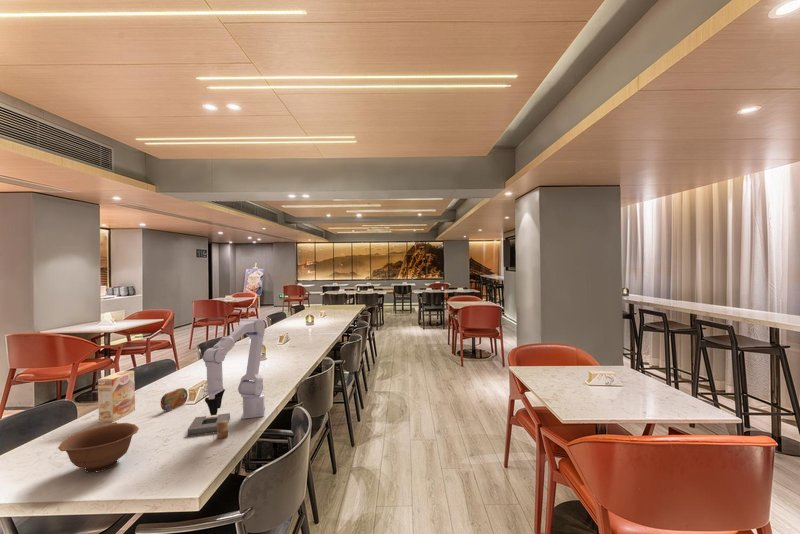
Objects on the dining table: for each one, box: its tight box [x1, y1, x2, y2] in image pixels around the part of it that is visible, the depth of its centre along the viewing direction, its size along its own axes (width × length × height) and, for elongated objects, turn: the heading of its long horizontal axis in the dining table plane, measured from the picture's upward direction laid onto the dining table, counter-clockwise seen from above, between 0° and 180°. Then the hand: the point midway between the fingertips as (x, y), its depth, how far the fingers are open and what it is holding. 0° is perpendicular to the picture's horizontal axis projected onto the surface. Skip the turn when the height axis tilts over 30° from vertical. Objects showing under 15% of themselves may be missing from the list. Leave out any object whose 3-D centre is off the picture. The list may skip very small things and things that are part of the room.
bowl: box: [57, 422, 140, 473], centre depth 134 cm, size 22×22×11 cm
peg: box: [216, 420, 229, 440], centre depth 155 cm, size 4×4×6 cm
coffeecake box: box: [97, 370, 136, 423], centre depth 182 cm, size 15×7×20 cm, turn 0°
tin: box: [160, 387, 189, 412], centre depth 191 cm, size 15×3×8 cm, turn 168°
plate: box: [187, 412, 231, 437], centre depth 165 cm, size 14×14×3 cm
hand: (215, 411), depth 157 cm, fingers open, 7 cm apart
